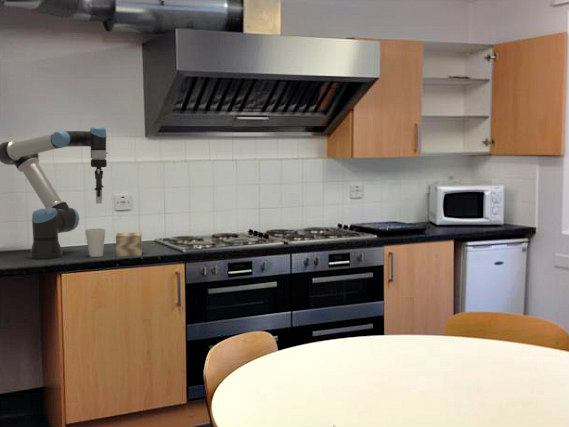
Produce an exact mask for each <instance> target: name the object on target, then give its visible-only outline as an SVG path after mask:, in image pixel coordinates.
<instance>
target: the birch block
mask: <svg viewBox="0 0 569 427" xmlns="http://www.w3.org/2000/svg"><path fill="white" fill-rule="evenodd" d="M142 242H143V239H142V232H120V233H119V232H117V233H116V235H115V249H116V250H115V251H116V253H115V255H116V257H117V258H118V257H120V258H121V257H139V256H140V257H141V256H142V254H143V246H142V245H143V244H142Z"/></svg>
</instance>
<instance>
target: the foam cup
mask: <svg viewBox="0 0 569 427" xmlns="http://www.w3.org/2000/svg"><path fill="white" fill-rule="evenodd" d="M84 233H85V237H86V242H87V249H88V254H89V257H91V258H99V257H104V247H105V238H106V229H105V228H87V229H85V232H84Z"/></svg>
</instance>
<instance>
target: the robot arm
mask: <svg viewBox="0 0 569 427" xmlns="http://www.w3.org/2000/svg"><path fill="white" fill-rule="evenodd" d="M68 147H69V148H70V147H71V148H72V147H89V148H90V167H91V168H96V169H95V170H94V178H95V187H94V191H95V203H96V204H97V205H98V204H103V189H104V185H103V177H104V176H103V175H104V170H102V168H106V167H107V166H108V165H107V155H108V153H109V152H107V129H106V128H105V127H104V126H103V127H97V126H96V127H90V129H89V131H87V130H86V131H85V130H57V131H55V132H53V133H49V134H46V135H45V134H44V135H41V136H37V137H32V138H29V139H24V140H19V141H16V140H15V141H14V140H12V141H11V140H10V141H4V142H1V143H0V162H1V163H2V164H4V165H8V166H10V165H13V166H15V167H16V168H17V170H18V172H22V173H23V174H24V176H25V178H26V179H27V180H28V183H29V184H30V185H31V188H33V190H34V192H35V193H36V195H37V197H38V199H39V200H40V202H41V203H42V205H43V206H44V208H39V209H36V210H34V211H33V212H32V215H31V216H32V217H31V222H32V223H31V225H32V226H31V227H32V245H31V249H30V251H29V252H30V253H29V258H30V259H36V260H37V259H39V260H44V259H45V260H47V259H57V258H60V257H63V248H62V247H61V244H60V241H59V234H61V233H69V232H72V231H74V230H75V229H76V228H77V227H78V226H79V224H80V223H79V222H80V215H79V213H78V211H77V210H76V209H75V208H73V207H69V205H68V203H67V201H63V200H61V198H60V196H59V195H58V193H57V192H56V190H55V188H54V186H53V185H52V184H51V182H50V180H49V178H48V177H47V176H46V174H45V173H44V171H43V169H42V167H41V166H40V164H39V163H40V159H39V156H40V155H39V154H40V153H45V152H48V151H53V150H57V149H62V148H68Z"/></svg>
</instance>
